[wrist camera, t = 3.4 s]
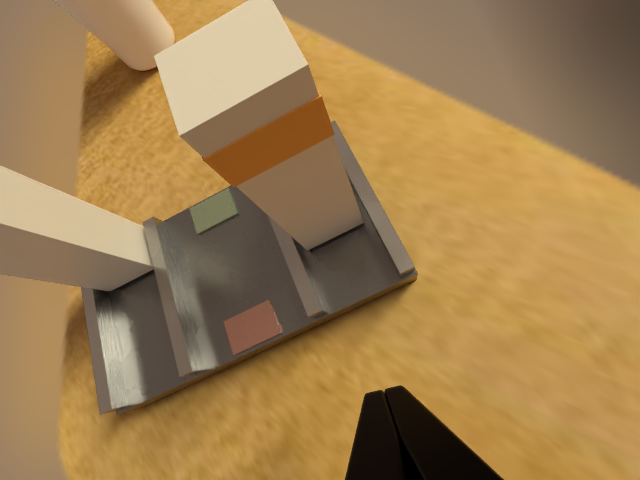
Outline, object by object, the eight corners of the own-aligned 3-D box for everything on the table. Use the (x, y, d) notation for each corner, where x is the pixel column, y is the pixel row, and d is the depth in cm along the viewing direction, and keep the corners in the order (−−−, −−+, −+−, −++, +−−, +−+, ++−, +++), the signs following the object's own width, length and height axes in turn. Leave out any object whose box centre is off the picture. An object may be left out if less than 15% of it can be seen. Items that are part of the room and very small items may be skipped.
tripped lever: (365, 223, 19) (310, 64, 8) (307, 251, 19) (178, 138, 8) (342, 179, 20) (267, -13, 9) (288, 207, 20) (152, 55, 9)
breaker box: (416, 279, 20) (418, 269, 17) (141, 407, 21) (99, 419, 18) (344, 145, 23) (334, 117, 20) (114, 265, 25) (74, 255, 22)
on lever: (156, 267, 21) (-103, 194, 10) (110, 291, 22) (-189, 244, 11) (147, 228, 22) (-98, 123, 11) (102, 251, 23) (-176, 172, 12)
